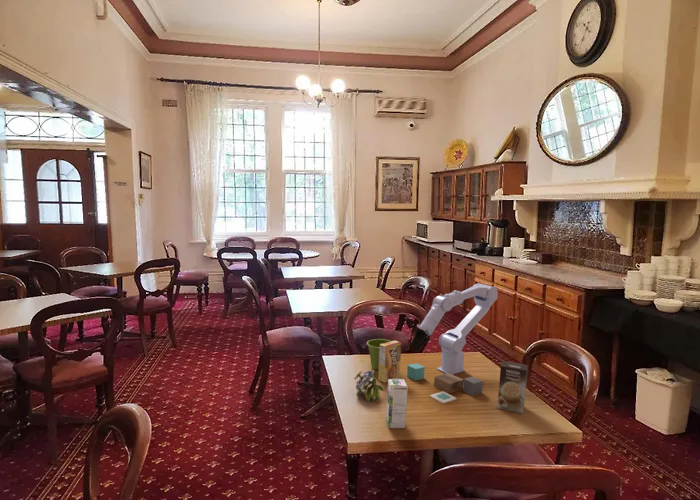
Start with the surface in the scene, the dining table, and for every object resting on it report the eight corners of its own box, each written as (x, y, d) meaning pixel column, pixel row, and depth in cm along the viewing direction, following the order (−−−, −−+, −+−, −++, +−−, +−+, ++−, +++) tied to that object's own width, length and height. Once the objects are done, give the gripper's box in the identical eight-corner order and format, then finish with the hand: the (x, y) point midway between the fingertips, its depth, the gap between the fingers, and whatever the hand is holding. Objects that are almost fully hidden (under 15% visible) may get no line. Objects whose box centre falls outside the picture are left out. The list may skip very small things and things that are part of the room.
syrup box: (385, 419, 147) (387, 378, 146) (402, 419, 148) (404, 378, 146) (388, 428, 142) (390, 385, 140) (406, 428, 142) (408, 385, 140)
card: (443, 392, 170) (443, 390, 170) (456, 399, 164) (456, 397, 164) (429, 396, 166) (430, 394, 166) (443, 403, 160) (443, 402, 160)
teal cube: (416, 374, 187) (416, 363, 187) (424, 378, 183) (424, 366, 182) (407, 376, 184) (407, 365, 184) (415, 380, 180) (415, 369, 180)
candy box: (393, 375, 185) (394, 340, 184) (400, 378, 182) (401, 342, 180) (377, 379, 180) (379, 343, 178) (384, 383, 177) (386, 346, 175)
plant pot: (378, 360, 201) (379, 337, 200) (398, 368, 193) (399, 343, 191) (360, 366, 193) (361, 342, 192) (379, 375, 185) (380, 349, 184)
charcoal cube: (471, 388, 174) (472, 376, 174) (482, 393, 170) (482, 380, 170) (463, 391, 172) (464, 378, 171) (473, 396, 167) (474, 383, 167)
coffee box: (496, 408, 158) (499, 365, 156) (498, 401, 164) (501, 359, 162) (523, 414, 154) (527, 370, 152) (524, 406, 160) (528, 364, 158)
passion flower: (358, 407, 167) (352, 376, 172) (386, 402, 168) (379, 371, 173) (358, 403, 157) (352, 369, 162) (388, 397, 158) (381, 364, 163)
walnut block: (448, 382, 180) (448, 372, 180) (463, 389, 174) (463, 379, 173) (434, 386, 176) (434, 376, 175) (448, 393, 169) (449, 384, 169)
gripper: (423, 320, 191) (406, 346, 188) (422, 311, 178) (404, 339, 175) (437, 328, 189) (420, 355, 186) (437, 320, 176) (419, 349, 173)
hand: (413, 348), depth 180 cm, fingers open, 7 cm apart
